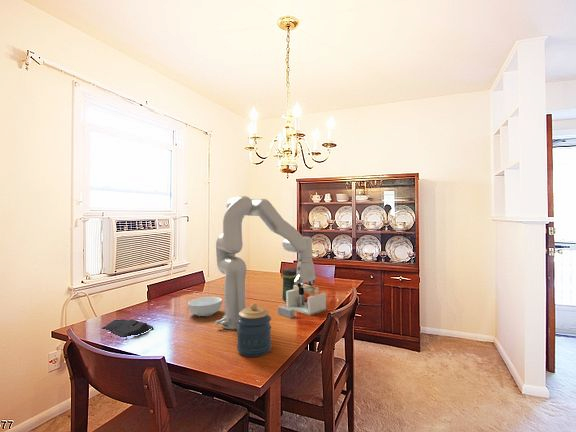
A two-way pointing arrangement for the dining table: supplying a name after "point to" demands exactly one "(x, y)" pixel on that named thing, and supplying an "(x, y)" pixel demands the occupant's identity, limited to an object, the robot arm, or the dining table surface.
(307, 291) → the board
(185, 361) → the dining table surface
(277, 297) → the dining table surface
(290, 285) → the coffee jar
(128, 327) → the dark slate chunk
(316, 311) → the peg stand
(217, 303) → the cereal bowl
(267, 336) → the canister
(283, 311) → the block
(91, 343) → the dining table surface
